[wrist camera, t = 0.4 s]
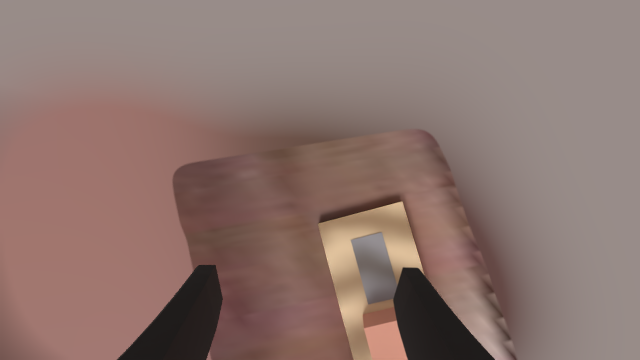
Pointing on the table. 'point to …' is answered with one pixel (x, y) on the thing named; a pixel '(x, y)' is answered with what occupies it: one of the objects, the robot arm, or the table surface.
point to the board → (367, 264)
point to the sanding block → (383, 335)
